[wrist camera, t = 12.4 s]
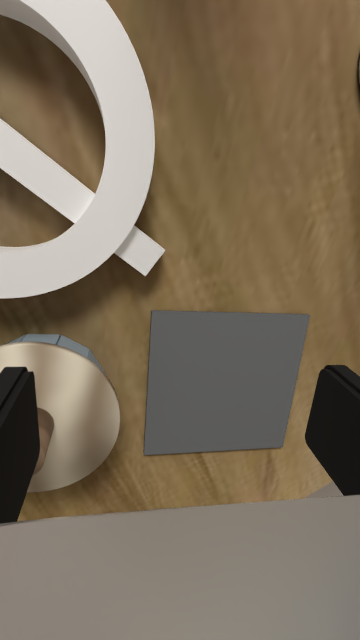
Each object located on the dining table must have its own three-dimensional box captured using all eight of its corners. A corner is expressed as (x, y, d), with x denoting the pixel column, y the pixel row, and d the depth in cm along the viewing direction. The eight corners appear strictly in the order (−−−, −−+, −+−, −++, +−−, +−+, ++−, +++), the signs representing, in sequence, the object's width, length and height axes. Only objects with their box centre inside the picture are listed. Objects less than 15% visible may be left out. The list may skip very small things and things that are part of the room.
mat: (307, 314, 43) (309, 315, 43) (281, 444, 49) (282, 447, 49) (151, 310, 39) (151, 311, 39) (143, 452, 45) (144, 455, 45)
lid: (121, 341, 33) (122, 368, 28) (118, 479, 39) (118, 525, 33) (-72, 341, 30) (-114, 371, 25) (-46, 491, 35) (-77, 544, 30)
